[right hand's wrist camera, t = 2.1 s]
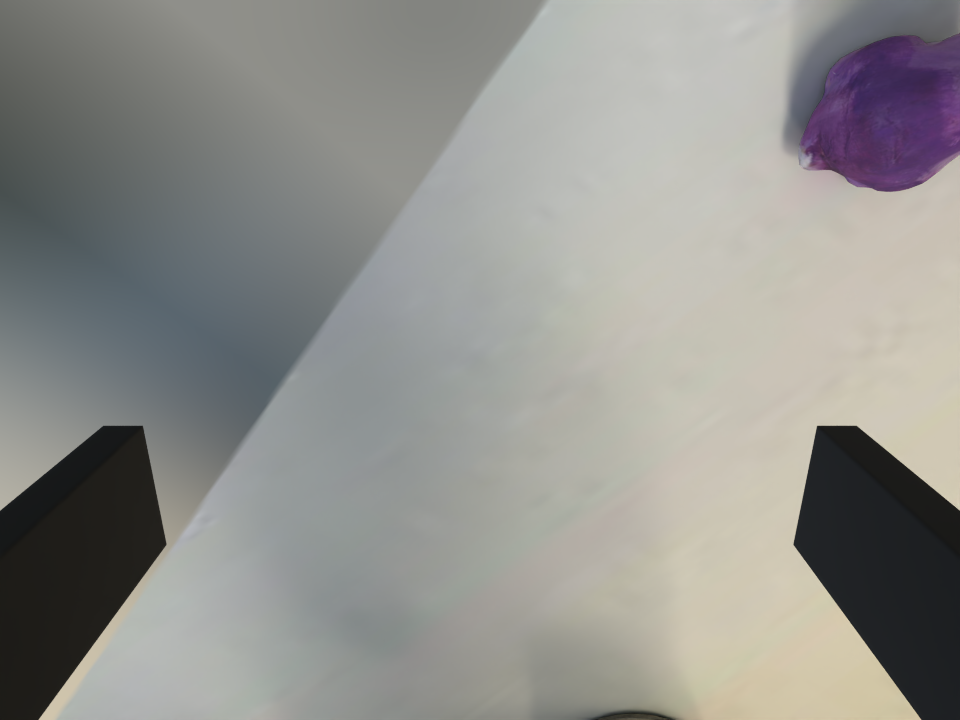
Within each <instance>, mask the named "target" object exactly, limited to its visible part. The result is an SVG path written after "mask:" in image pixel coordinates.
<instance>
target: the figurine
mask: <svg viewBox="0 0 960 720" xmlns="http://www.w3.org/2000/svg"><path fill="white" fill-rule="evenodd" d="M959 155H960V33H959V34H957V35H954V36H952V37H949V38H947V39H945V40H943V41H937V42H930V43H925V42H924V41H923V40H921V39H920V38H919V37H917V36H909V35H902V36H895V37H890V38H886V39H883V40H880V41H877V42H874V43H872V44H870V45H868V46H865V47H863V48H861V49H858V50H856V51H853V52H851V53H849V54H848V55H846V56H844V57H842V58H840V59H839V60H838V62H837V63H836V64H835V65H834V66H833V67H832V68H831V69H830V72H829V74H828V76H827V80H826V83H825V93H824V95H823V98H822V100H821V101H820V103H819V104H818V106H817V107H816V109H815V110H814V112H813V114H812V116H811V118H810V121H809V123H808V125H807V128H806V130H805V132H804V134H803V137H802V139H801V142H800V145H799V164H800V166H801V167H802V168H803V169H806V170H832V171H835V172H837V173H839V174H841V175H843V176H845V178H846V179H847V181H848V182H849V183H851V184H853V185H855V186H857V187H867V188H873V189H875V190H877V191H885V192H893V191H901V190H905V189H909V188H912V187H914V186H917V185H920V184H922V183H924V182H925V181H927V180H928V179H929V178H931V177H932V176H933V175H935V174H936V173H937V172H939V171H940V170H941V169H942V168H943V167H944V166H946V165H947V164H948V163H949V162H950V161H952V160H953V159H954V158H956V157H957V156H959Z"/></svg>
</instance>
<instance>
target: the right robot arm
mask: <svg viewBox="0 0 960 720" xmlns="http://www.w3.org/2000/svg"><path fill="white" fill-rule="evenodd" d="M165 546H166V540H165V535H164V530H163V525H162V520H161V515H160V510H159V505H158V500H157V495H156V490H155V484H154V480H153V474H152V470H151V465H150V459H149V455H148V449H147V445H146V439H145V434H144V429H143V426H103V427H101V428H100V429H99V430H98V431H97V432H95V433H94V434H93V435H92V436H91V437H89V438H88V439H87V440H86V441H84V442H83V443H82V444H81V445H80V446H78V447H77V448H76V449H75V450H74V451H72V452H71V453H70V454H69V455H67V456H66V457H65V458H64V459H63V460H61V461H60V462H59V463H58V464H57V465H55V466H54V467H53V468H52V469H50V470H49V471H48V472H47V473H46V474H44V475H43V476H42V477H41V478H39V479H38V480H37V481H36V482H35V483H33V484H32V485H31V486H30V487H29V488H27V489H26V490H25V491H24V492H22V493H21V494H20V495H19V496H18V497H16V498H15V499H14V500H13V501H11V502H10V503H9V504H8V505H7V506H5V507H4V508H3V509H2V510H1V511H0V720H39V718H40V717H41V716H42V714H43V713H44V711H45V710H46V709H47V707H48V706H49V704H50V703H51V702H52V700H53V699H54V698H55V696H56V695H57V693H58V692H59V691H60V689H61V688H62V687H63V685H64V684H65V683H66V681H67V680H68V679H69V677H70V676H71V675H72V673H73V672H74V670H75V669H76V668H77V666H78V665H79V664H80V662H81V661H82V659H83V658H84V657H85V655H86V654H87V653H88V651H89V650H90V649H91V647H92V646H93V644H94V643H95V642H96V640H97V639H98V638H99V636H100V635H101V634H102V632H103V631H104V629H105V628H106V627H107V625H108V624H109V623H110V621H111V620H112V618H113V617H114V616H115V614H116V613H117V612H118V610H119V609H120V608H121V606H122V605H123V603H124V602H125V601H126V599H127V598H128V597H129V595H130V594H131V592H132V591H133V590H134V588H135V587H136V586H137V584H138V583H139V582H140V580H141V579H142V577H143V576H144V575H145V573H146V572H147V571H148V569H149V568H150V567H151V565H152V564H153V562H154V561H155V560H156V558H157V557H158V556H159V554H160V553H161V552H162V550H163V549H164V547H165ZM794 546H795V547H796V549H797V550H798V552H799V553H800V554H801V556H802V557H803V558H804V560H805V561H806V562H807V564H808V565H809V567H810V568H811V569H812V571H813V572H814V573H815V575H816V576H817V577H818V579H819V580H820V582H821V583H822V584H823V586H824V587H825V588H826V590H827V591H828V593H829V594H830V595H831V597H832V598H833V599H834V601H835V602H836V603H837V605H838V606H839V608H840V609H841V610H842V612H843V613H844V614H845V616H846V617H847V618H848V620H849V621H850V623H851V624H852V625H853V627H854V628H855V629H856V631H857V632H858V634H859V635H860V636H861V638H862V639H863V640H864V642H865V643H866V644H867V646H868V647H869V649H870V650H871V651H872V653H873V654H874V655H875V657H876V658H877V659H878V661H879V662H880V664H881V665H882V666H883V668H884V669H885V670H886V672H887V673H888V675H889V676H890V677H891V679H892V680H893V681H894V683H895V684H896V685H897V687H898V688H899V690H900V691H901V692H902V694H903V695H904V696H905V698H906V699H907V700H908V702H909V703H910V705H911V706H912V707H913V709H914V710H915V711H916V713H917V714H918V716H919V717H920V718H921V720H960V511H959V510H958V509H957V508H956V507H955V506H953V505H952V504H951V503H950V502H949V501H947V500H946V499H945V498H944V497H942V496H941V495H940V494H939V493H938V492H936V491H935V490H934V489H933V488H931V487H930V486H929V485H928V484H927V483H925V482H924V481H923V480H922V479H921V478H919V477H918V476H917V475H916V474H914V473H913V472H912V471H911V470H910V469H908V468H907V467H906V466H905V465H904V464H902V463H901V462H900V461H899V460H897V459H896V458H895V457H894V456H893V455H891V454H890V453H889V452H888V451H887V450H885V449H884V448H883V447H882V446H880V445H879V444H878V443H877V442H876V441H874V440H873V439H872V438H871V437H869V436H868V435H867V434H866V433H865V432H863V431H862V430H861V429H860V428H859V427H857V426H817V429H816V434H815V439H814V444H813V449H812V454H811V459H810V464H809V469H808V474H807V479H806V484H805V489H804V495H803V500H802V505H801V510H800V515H799V520H798V525H797V530H796V535H795V540H794ZM597 720H669V719H666V718H663V717H659V716H654V715H647V714H620V715H613V716H608V717H604V718H600V719H597Z"/></svg>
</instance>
